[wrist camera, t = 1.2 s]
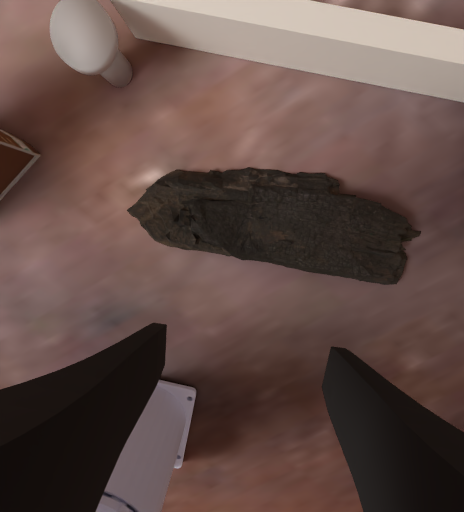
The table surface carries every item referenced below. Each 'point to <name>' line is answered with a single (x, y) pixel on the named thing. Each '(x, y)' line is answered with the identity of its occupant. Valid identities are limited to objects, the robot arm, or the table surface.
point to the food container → (14, 160)
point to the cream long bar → (270, 40)
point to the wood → (277, 222)
